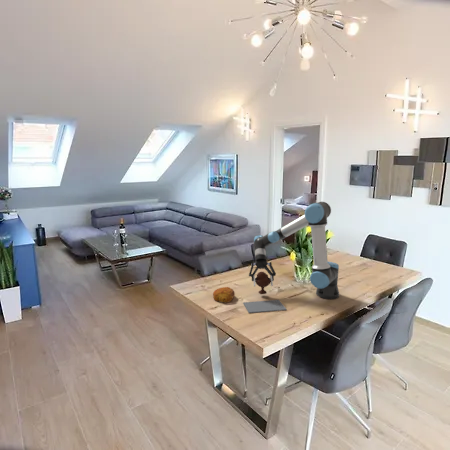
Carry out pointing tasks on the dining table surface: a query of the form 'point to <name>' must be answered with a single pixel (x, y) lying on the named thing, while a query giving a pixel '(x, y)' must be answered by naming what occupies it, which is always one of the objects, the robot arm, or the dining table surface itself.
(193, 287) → the dining table surface
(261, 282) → the ice cream bowl
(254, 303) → the placemat
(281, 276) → the dining table surface
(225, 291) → the orange-brown rounded lump
